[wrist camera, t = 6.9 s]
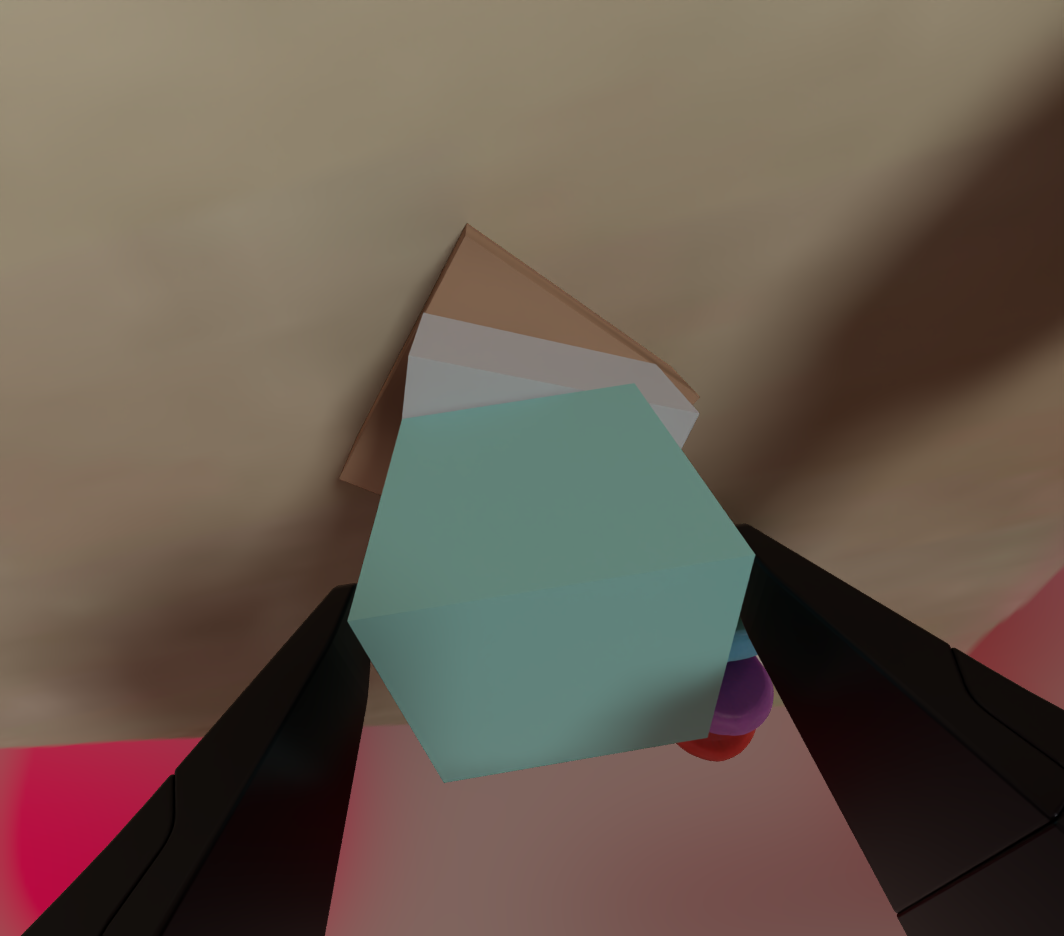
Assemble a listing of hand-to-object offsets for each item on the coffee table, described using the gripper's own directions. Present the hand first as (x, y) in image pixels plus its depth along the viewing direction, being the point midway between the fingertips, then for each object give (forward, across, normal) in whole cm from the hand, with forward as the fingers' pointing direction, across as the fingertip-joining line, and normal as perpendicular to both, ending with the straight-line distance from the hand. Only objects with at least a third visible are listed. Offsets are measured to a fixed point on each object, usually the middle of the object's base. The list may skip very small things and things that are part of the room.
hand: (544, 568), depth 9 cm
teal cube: (+3, 0, 0) cm, 3 cm away
